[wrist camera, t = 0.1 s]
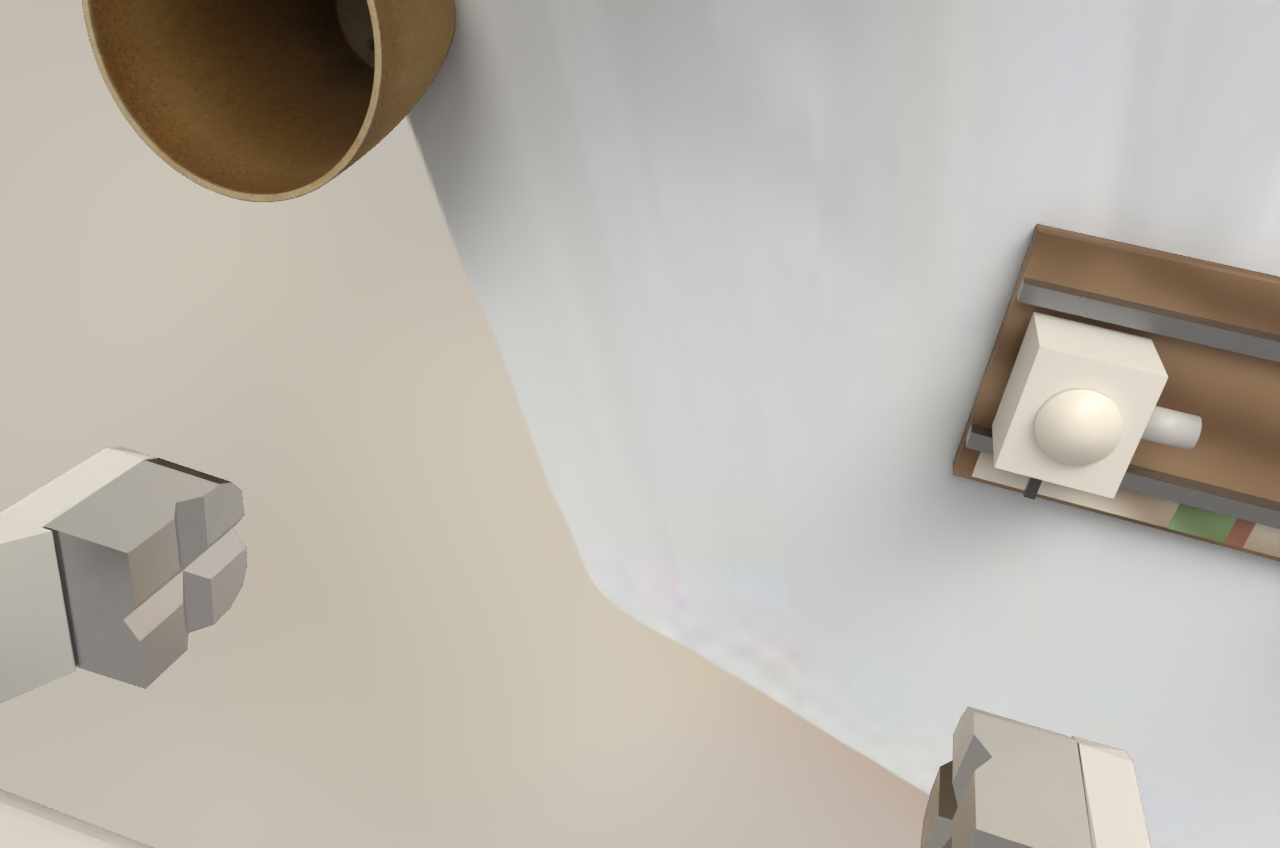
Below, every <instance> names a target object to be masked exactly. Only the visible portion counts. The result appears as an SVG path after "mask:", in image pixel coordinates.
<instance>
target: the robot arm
mask: <svg viewBox="0 0 1280 848" xmlns="http://www.w3.org/2000/svg"><path fill="white" fill-rule="evenodd" d="M243 516H244V507H243V497H242V490H240V489H239V488H238V487H237V486H236V485H235V484H233V483H232V482H230V481H226V480H224V479H220V478H217V477H214V476H211V475H208V474H205V473H202V472H199V471H196V470H193V469H190V468H187V467H184V466H181V465H178V464H175V463H172V462H169V461H166V460H163V459H160V458H154V457H152V456H149V455H146V454H143V453H140V452H136V451H133V450H130V449H127V448H124V447H110V448H105V449H103V450H102V451H100V452H98V453H97V454H95V455H94V456H92V457H90V458H89V459H87V460H86V461H84V462H82V463H81V464H79V465H77V466H76V467H74V468H72V469H71V470H69V471H67V472H66V473H64V474H63V475H61V476H59V477H58V478H56V479H55V480H53V481H51V482H50V483H48V484H46V485H45V486H43V487H41V488H40V489H38V490H36V491H35V492H33V493H32V494H30V495H28V496H27V497H25V498H23V499H22V500H20V501H19V502H17V503H15V504H14V505H12V506H10V507H9V508H7V509H5V510H4V511H2V512H1V513H0V703H2V702H4V701H7V700H9V699H11V698H14V697H16V696H18V695H21V694H23V693H25V692H28V691H30V690H32V689H35V688H37V687H39V686H42V685H44V684H46V683H49V682H51V681H53V680H56V679H58V678H60V677H63V676H65V675H67V674H70V673H72V672H74V671H75V670H76V667H78V668H82V669H85V670H88V671H91V672H94V673H98V674H101V675H104V676H107V677H110V678H113V679H117V680H120V681H123V682H126V683H129V684H132V685H135V686H138V687H142V688H145V689H146V688H147V687H148V686H149V685H150V684H151V683H152V682H153V681H154V680H155V679H156V678H158V677H159V676H160V674H162V673H163V672H164V671H165V670H166V669H167V668H168V667H169V666H170V665H171V664H172V663H173V662H175V661H176V660H177V659H178V658H179V657H180V656H181V655H182V654H183V653H184V652H185V651H186V650H187V644H188V633H190V632H192V631H196V630H199V629H201V628H205V627H208V626H211V625H214V624H215V623H216V622H217V621H218V620H219V619H220V618H221V617H222V616H223V615H224V614H225V613H226V612H227V611H228V610H229V609H230V608H231V606H232V604H233V602H234V600H235V599H236V597H237V595H238V593H239V591H240V589H241V588H242V586H243V582H244V577H245V573H246V568H247V552H246V546H245V545H244V543H243V542H242V540H241V538H240V537H239V535H238V534H237V532H236V531H235V529H234V528H233V527H234V526H235V525H236V524H237V523H238V522H239V521H240V520H241V518H242V517H243ZM0 848H153V847H151V846H148V845H146V844H143V843H140V842H138V841H135V840H133V839H130V838H127V837H125V836H122V835H119V834H117V833H114V832H112V831H109V830H106V829H104V828H101V827H99V826H96V825H93V824H91V823H88V822H86V821H83V820H80V819H77V818H75V817H72V816H70V815H67V814H65V813H62V812H59V811H57V810H54V809H52V808H49V807H46V806H44V805H41V804H38V803H36V802H33V801H30V800H28V799H25V798H23V797H20V796H18V795H15V794H12V793H10V792H7V791H4V790H2V789H0ZM921 848H1152V847H1151V842H1150V838H1149V833H1148V828H1147V824H1146V819H1145V814H1144V810H1143V805H1142V800H1141V796H1140V791H1139V786H1138V782H1137V777H1136V772H1135V767H1134V763H1133V760H1132V758H1131V757H1130V756H1129V754H1128V753H1127V752H1126V751H1123V750H1120V749H1116V748H1113V747H1109V746H1105V745H1102V744H1098V743H1095V742H1091V741H1088V740H1084V739H1081V738H1077V737H1071V738H1070V737H1068V736H1065V735H1062V734H1059V733H1055V732H1052V731H1049V730H1045V729H1042V728H1039V727H1035V726H1032V725H1028V724H1025V723H1022V722H1018V721H1015V720H1012V719H1008V718H1005V717H1002V716H998V715H995V714H992V713H988V712H985V711H982V710H978V709H975V708H971V707H968V708H967V709H966V710H965V712H964V713H963V715H962V716H961V718H960V721H959V723H958V725H957V728H956V730H955V732H954V735H953V761H951V762H949V763H947V764H945V765H943V766H941V767H940V768H939V771H938V774H937V776H936V779H935V782H934V784H933V787H932V790H931V793H930V797H929V801H928V804H927V808H926V812H925V816H924V822H923V829H922V837H921Z"/></svg>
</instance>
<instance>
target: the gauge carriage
mask: <svg viewBox="0 0 1280 848" xmlns="http://www.w3.org/2000/svg"><path fill="white" fill-rule="evenodd" d="M1167 379H1168V375H1167V373H1166V371H1165V368H1164V366H1163V364H1162V362H1161V359H1160V357H1159V355H1158V353H1157V350H1156V348H1155V346H1154V344H1153V342H1152V339H1149V338H1144V337H1140V336H1136V335H1131V334H1127V333H1123V332H1119V331H1114V330H1110V329H1106V328H1101V327H1097V326H1093V325H1089V324H1084V323H1080V322H1076V321H1071V320H1067V319H1063V318H1059V317H1054V316H1050V315H1046V314H1041V313H1037V312H1033V315H1032V317H1031V320H1030V323H1029V326H1028V328H1027V331H1026V334H1025V336H1024V339H1023V342H1022V345H1021V347H1020V350H1019V353H1018V356H1017V358H1016V361H1015V364H1014V367H1013V369H1012V372H1011V375H1010V378H1009V380H1008V383H1007V386H1006V388H1005V391H1004V394H1003V397H1002V399H1001V402H1000V405H999V408H998V410H997V413H996V416H995V419H994V421H993V424H992V436H993V452H994V468H998V469H1002V470H1005V471H1009V472H1013V473H1017V474H1021V475H1025V476H1028V477H1030V478H1029V480H1028V483H1027V485H1026V488H1025V490H1024V497H1027V498H1031V499H1035V497H1036V495H1037V493H1038V490H1039V488H1040V485H1041V483H1042V480H1044V481H1047V482H1051V483H1055V484H1059V485H1063V486H1067V487H1070V488H1074V489H1078V490H1082V491H1086V492H1089V493H1093V494H1097V495H1101V496H1105V497H1109V498H1112V499H1114V497H1115V494H1116V492H1117V490H1118V488H1119V486H1120V483H1121V481H1122V479H1123V477H1124V474H1125V472H1126V470H1127V468H1128V466H1129V463H1130V461H1131V459H1132V457H1133V455H1134V452H1135V450H1136V448H1137V446H1138V444H1139V441H1140V439H1145V440H1149V441H1153V442H1157V443H1161V444H1165V445H1169V446H1173V447H1177V448H1181V449H1185V450H1191V449H1192V448H1193V447H1194V446H1195V445H1196V443H1197V441H1198V439H1199V436H1200V433H1201V428H1202V419H1201V417H1199V416H1196V415H1192V414H1187V413H1183V412H1179V411H1175V410H1171V409H1167V408H1163V407H1159V406H1156V404H1157V402H1158V399H1159V397H1160V395H1161V393H1162V390H1163V388H1164V386H1165V384H1166V382H1167Z"/></svg>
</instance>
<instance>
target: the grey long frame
mask: <svg viewBox="0 0 1280 848" xmlns="http://www.w3.org/2000/svg"><path fill="white" fill-rule="evenodd" d="M1017 299H1018V302H1022V303H1026V304H1030V305H1035V306H1039V307H1043V308H1048V309H1052V310H1056V311H1061V312H1065V313H1069V314H1073V315H1078V316H1082V317H1086V318H1091V319H1095V320H1099V321H1104V322H1108V323H1112V324H1116V325H1121V326H1125V327H1129V328H1134V329H1138V330H1142V331H1147V332H1151V333H1155V334H1160V335H1164V336H1168V337H1172V338H1177V339H1181V340H1185V341H1190V342H1194V343H1198V344H1203V345H1207V346H1211V347H1215V348H1220V349H1224V350H1228V351H1233V352H1237V353H1241V354H1246V355H1250V356H1254V357H1259V358H1263V359H1267V360H1271V361H1276V362H1280V335H1277V334H1272V333H1268V332H1263V331H1259V330H1255V329H1250V328H1246V327H1242V326H1237V325H1233V324H1228V323H1224V322H1220V321H1215V320H1211V319H1206V318H1202V317H1198V316H1193V315H1189V314H1184V313H1180V312H1176V311H1171V310H1167V309H1162V308H1158V307H1154V306H1149V305H1145V304H1141V303H1136V302H1132V301H1127V300H1123V299H1119V298H1114V297H1110V296H1105V295H1101V294H1097V293H1092V292H1088V291H1083V290H1079V289H1075V288H1070V287H1066V286H1062V285H1057V284H1053V283H1048V282H1044V281H1040V280H1035V279H1031V278H1026V277H1023V278H1022V281H1021V284H1020V287H1019V289H1018V292H1017ZM966 448H969V449H973V450H977V451H981V452H984V453H988V454H992V455H994V452H993V436H992V429H991V428H987V427H984V426H980V425H976V424H972V423H971V425H970V428H969V431H968V434H967V437H966ZM1119 488H1123V489H1127V490H1131V491H1135V492H1138V493H1142V494H1146V495H1150V496H1154V497H1158V498H1161V499H1165V500H1169V501H1173V502H1177V503H1181V504H1185V505H1188V506H1192V507H1196V508H1200V509H1204V510H1208V511H1212V512H1215V513H1219V514H1223V515H1227V516H1231V517H1235V518H1239V519H1242V520H1246V521H1250V522H1254V523H1258V524H1262V525H1265V526H1269V527H1273V528H1277V529H1280V502H1277V501H1273V500H1270V499H1266V498H1262V497H1258V496H1254V495H1250V494H1246V493H1242V492H1238V491H1234V490H1230V489H1226V488H1223V487H1219V486H1215V485H1211V484H1207V483H1203V482H1199V481H1195V480H1191V479H1187V478H1183V477H1179V476H1176V475H1172V474H1168V473H1164V472H1160V471H1156V470H1152V469H1148V468H1144V467H1140V466H1136V465H1132V464H1129V466H1128V468H1127V470H1126V472H1125V474H1124V477H1123V479H1122V481H1121V483H1120V486H1119Z"/></svg>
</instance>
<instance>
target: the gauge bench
mask: <svg viewBox="0 0 1280 848" xmlns="http://www.w3.org/2000/svg"><path fill="white" fill-rule="evenodd" d="M1023 277H1026V278H1031V279H1035V280H1040V281H1044V282H1048V283H1053V284H1057V285H1062V286H1066V287H1070V288H1075V289H1079V290H1083V291H1088V292H1092V293H1097V294H1101V295H1105V296H1110V297H1114V298H1119V299H1123V300H1127V301H1132V302H1136V303H1141V304H1145V305H1149V306H1154V307H1158V308H1162V309H1167V310H1171V311H1176V312H1180V313H1184V314H1189V315H1193V316H1198V317H1202V318H1206V319H1211V320H1215V321H1220V322H1224V323H1228V324H1233V325H1237V326H1242V327H1246V328H1250V329H1255V330H1259V331H1263V332H1268V333H1272V334H1277V335H1280V277H1278V276H1273V275H1269V274H1264V273H1259V272H1255V271H1250V270H1246V269H1241V268H1237V267H1232V266H1227V265H1223V264H1218V263H1214V262H1209V261H1204V260H1200V259H1195V258H1191V257H1186V256H1182V255H1177V254H1172V253H1168V252H1163V251H1159V250H1154V249H1149V248H1145V247H1140V246H1136V245H1131V244H1127V243H1122V242H1117V241H1113V240H1108V239H1104V238H1099V237H1095V236H1090V235H1085V234H1081V233H1076V232H1072V231H1067V230H1062V229H1058V228H1053V227H1049V226H1044V225H1040V224H1037V226H1036V228H1035V231H1034V234H1033V237H1032V240H1031V243H1030V246H1029V248H1028V251H1027V254H1026V257H1025V260H1024V263H1023V265H1022V268H1021V271H1020V274H1019V277H1018V280H1017V283H1016V285H1015V288H1014V291H1013V294H1012V297H1011V300H1010V303H1009V305H1008V308H1007V311H1006V314H1005V317H1004V320H1003V322H1002V325H1001V328H1000V331H999V334H998V337H997V340H996V342H995V345H994V348H993V351H992V354H991V357H990V360H989V362H988V365H987V368H986V371H985V374H984V377H983V379H982V382H981V385H980V388H979V391H978V394H977V397H976V399H975V402H974V405H973V408H972V411H971V414H970V416H969V419H968V422H967V425H966V428H965V431H964V434H963V436H962V439H961V442H960V445H959V448H958V451H957V454H956V456H955V459H954V462H953V475H957V476H961V477H964V478H968V479H972V480H976V481H979V482H983V483H987V484H991V485H995V486H998V487H1002V488H1006V489H1010V490H1013V491H1017V492H1021V493H1024V490H1025V488H1026V485H1027V483H1028V480H1029V478H1030V477H1028V476H1025V475H1021V474H1017V473H1013V472H1009V471H1005V470H1002V469H998V468H994V455H992V454H988V453H984V452H981V451H977V450H973V449H969V448H966V437H967V434H968V431H969V428H970V425H971V423H972V424H976V425H980V426H984V427H987V428H991V429H992V424H993V421H994V419H995V416H996V413H997V410H998V408H999V405H1000V402H1001V399H1002V397H1003V394H1004V391H1005V388H1006V386H1007V383H1008V380H1009V378H1010V375H1011V372H1012V369H1013V367H1014V364H1015V361H1016V358H1017V356H1018V353H1019V350H1020V347H1021V345H1022V342H1023V339H1024V336H1025V334H1026V331H1027V328H1028V326H1029V323H1030V320H1031V317H1032V315H1033V312H1037V313H1041V314H1046V315H1050V316H1054V317H1059V318H1063V319H1067V320H1071V321H1076V322H1080V323H1084V324H1089V325H1093V326H1097V327H1101V328H1106V329H1110V330H1114V331H1119V332H1123V333H1127V334H1131V335H1136V336H1140V337H1144V338H1149V339H1152V342H1153V344H1154V346H1155V348H1156V350H1157V353H1158V355H1159V357H1160V359H1161V362H1162V364H1163V366H1164V368H1165V371H1166V373H1167V375H1168V379H1167V382H1166V384H1165V386H1164V388H1163V390H1162V393H1161V395H1160V397H1159V399H1158V402H1157V404H1156V406H1159V407H1163V408H1167V409H1171V410H1175V411H1179V412H1183V413H1187V414H1192V415H1196V416H1199V417H1201V419H1202V428H1201V433H1200V436H1199V439H1198V441H1197V443H1196V445H1195V446H1194V447H1193V448H1192V449H1191V450H1185V449H1181V448H1177V447H1173V446H1169V445H1165V444H1161V443H1157V442H1153V441H1149V440H1145V439H1140V441H1139V444H1138V446H1137V448H1136V450H1135V452H1134V455H1133V457H1132V459H1131V461H1130V463H1129V464H1132V465H1136V466H1140V467H1144V468H1148V469H1152V470H1156V471H1160V472H1164V473H1168V474H1172V475H1176V476H1179V477H1183V478H1187V479H1191V480H1195V481H1199V482H1203V483H1207V484H1211V485H1215V486H1219V487H1223V488H1226V489H1230V490H1234V491H1238V492H1242V493H1246V494H1250V495H1254V496H1258V497H1262V498H1266V499H1270V500H1273V501H1277V502H1280V362H1276V361H1271V360H1267V359H1263V358H1259V357H1254V356H1250V355H1246V354H1241V353H1237V352H1233V351H1228V350H1224V349H1220V348H1215V347H1211V346H1207V345H1203V344H1198V343H1194V342H1190V341H1185V340H1181V339H1177V338H1172V337H1168V336H1164V335H1160V334H1155V333H1151V332H1147V331H1142V330H1138V329H1134V328H1129V327H1125V326H1121V325H1116V324H1112V323H1108V322H1104V321H1099V320H1095V319H1091V318H1086V317H1082V316H1078V315H1073V314H1069V313H1065V312H1061V311H1056V310H1052V309H1048V308H1043V307H1039V306H1035V305H1030V304H1026V303H1022V302H1018V299H1017V292H1018V289H1019V287H1020V284H1021V281H1022V278H1023ZM1036 497H1040V498H1044V499H1047V500H1051V501H1055V502H1059V503H1062V504H1066V505H1070V506H1074V507H1078V508H1081V509H1085V510H1089V511H1093V512H1096V513H1100V514H1104V515H1108V516H1112V517H1115V518H1119V519H1123V520H1127V521H1130V522H1134V523H1138V524H1142V525H1146V526H1149V527H1153V528H1157V529H1161V530H1164V531H1168V532H1172V533H1176V534H1179V535H1183V536H1187V537H1191V538H1195V539H1198V540H1202V541H1206V542H1210V543H1213V544H1217V545H1221V546H1225V547H1229V548H1232V549H1236V550H1240V551H1244V552H1247V553H1251V554H1255V555H1259V556H1263V557H1266V558H1270V559H1274V560H1278V561H1280V529H1277V528H1273V527H1269V526H1265V525H1262V524H1258V523H1254V522H1250V521H1246V520H1242V519H1239V518H1235V517H1231V516H1227V515H1223V514H1219V513H1215V512H1212V511H1208V510H1204V509H1200V508H1196V507H1192V506H1188V505H1185V504H1181V503H1177V502H1173V501H1169V500H1165V499H1161V498H1158V497H1154V496H1150V495H1146V494H1142V493H1138V492H1135V491H1131V490H1127V489H1123V488H1118V490H1117V492H1116V494H1115V497H1114V499H1112V498H1109V497H1105V496H1101V495H1097V494H1093V493H1089V492H1086V491H1082V490H1078V489H1074V488H1070V487H1067V486H1063V485H1059V484H1055V483H1051V482H1047V481H1044V480H1042V483H1041V485H1040V488H1039V490H1038V493H1037V495H1036Z"/></svg>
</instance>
